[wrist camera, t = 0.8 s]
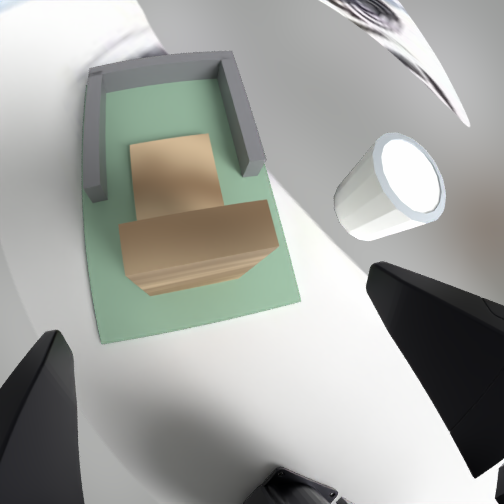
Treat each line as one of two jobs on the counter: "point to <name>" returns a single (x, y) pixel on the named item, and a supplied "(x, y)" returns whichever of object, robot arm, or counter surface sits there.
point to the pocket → (162, 72)
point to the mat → (123, 211)
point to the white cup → (390, 189)
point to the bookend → (188, 220)
